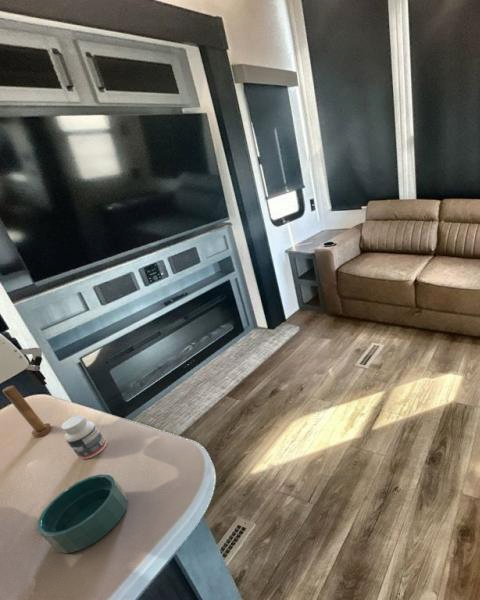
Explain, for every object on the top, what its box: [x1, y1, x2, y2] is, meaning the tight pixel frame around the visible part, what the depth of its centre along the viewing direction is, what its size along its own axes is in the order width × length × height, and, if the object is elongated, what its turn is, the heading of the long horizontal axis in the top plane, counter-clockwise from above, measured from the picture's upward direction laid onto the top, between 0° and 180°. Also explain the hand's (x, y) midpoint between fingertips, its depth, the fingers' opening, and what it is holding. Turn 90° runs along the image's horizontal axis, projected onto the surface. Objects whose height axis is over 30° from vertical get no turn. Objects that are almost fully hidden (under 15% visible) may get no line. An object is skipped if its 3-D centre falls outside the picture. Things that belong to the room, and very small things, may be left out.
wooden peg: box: [2, 385, 53, 439], centre depth 86 cm, size 4×4×14 cm
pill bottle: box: [61, 414, 107, 460], centre depth 80 cm, size 5×5×9 cm
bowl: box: [36, 473, 129, 554], centre depth 65 cm, size 11×11×6 cm
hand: (18, 398), depth 85 cm, fingers open, 9 cm apart
